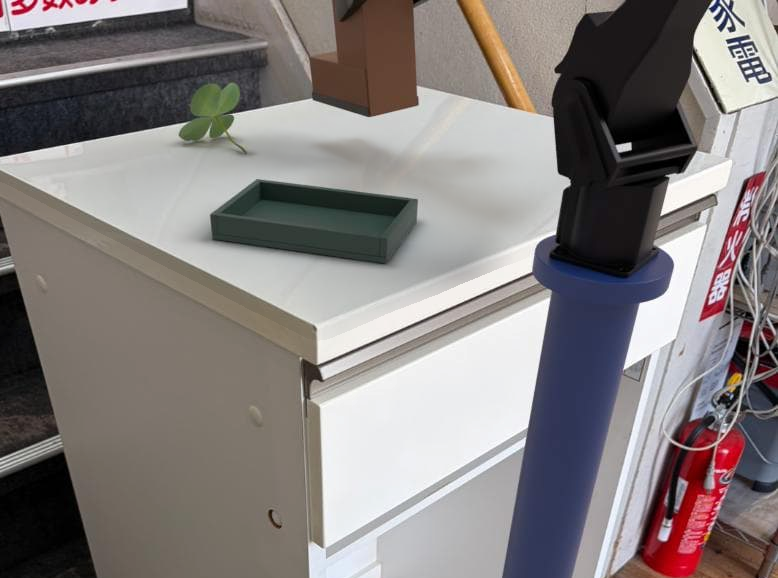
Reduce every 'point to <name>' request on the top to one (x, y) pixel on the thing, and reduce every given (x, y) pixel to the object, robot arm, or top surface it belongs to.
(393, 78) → the boot
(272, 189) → the tray
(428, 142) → the top surface
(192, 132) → the green leafy piece
